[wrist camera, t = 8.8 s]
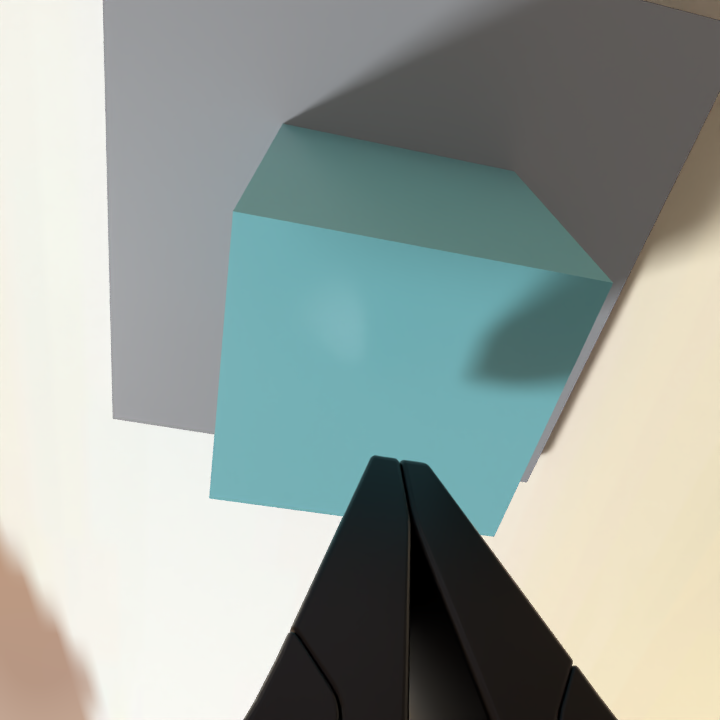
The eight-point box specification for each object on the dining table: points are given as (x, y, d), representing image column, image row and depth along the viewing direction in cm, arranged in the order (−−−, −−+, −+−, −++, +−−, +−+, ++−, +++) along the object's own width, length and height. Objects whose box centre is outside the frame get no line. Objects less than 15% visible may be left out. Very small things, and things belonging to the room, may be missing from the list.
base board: (726, 26, 14) (750, 28, 13) (519, 463, 21) (526, 482, 20) (117, -132, 12) (98, -142, 11) (123, 400, 19) (112, 418, 19)
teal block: (514, 171, 14) (613, 282, 9) (450, 363, 18) (493, 536, 12) (282, 123, 14) (232, 211, 8) (257, 331, 17) (209, 498, 11)
